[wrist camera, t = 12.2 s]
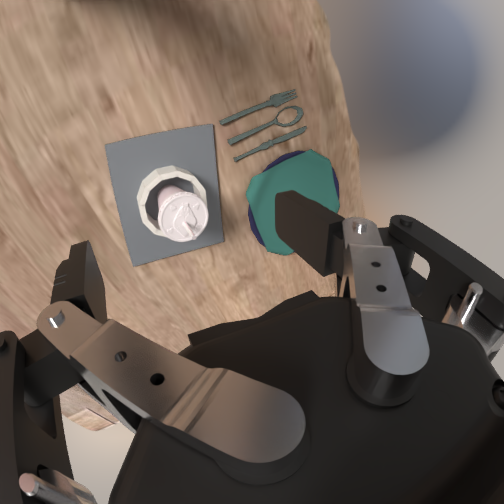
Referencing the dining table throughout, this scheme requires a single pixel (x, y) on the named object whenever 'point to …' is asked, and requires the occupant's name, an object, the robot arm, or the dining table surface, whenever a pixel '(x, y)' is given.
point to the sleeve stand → (157, 176)
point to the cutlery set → (285, 178)
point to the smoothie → (181, 214)
